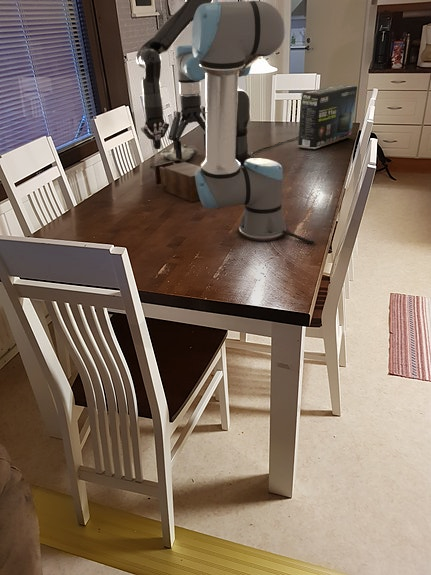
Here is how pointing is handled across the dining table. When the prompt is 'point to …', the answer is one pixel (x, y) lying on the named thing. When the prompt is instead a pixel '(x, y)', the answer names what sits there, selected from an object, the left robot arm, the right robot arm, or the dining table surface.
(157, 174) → the dark piece
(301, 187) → the dining table surface
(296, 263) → the dining table surface
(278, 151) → the dining table surface
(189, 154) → the fossil
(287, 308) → the dining table surface
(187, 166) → the dark wooden box
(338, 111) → the router box
